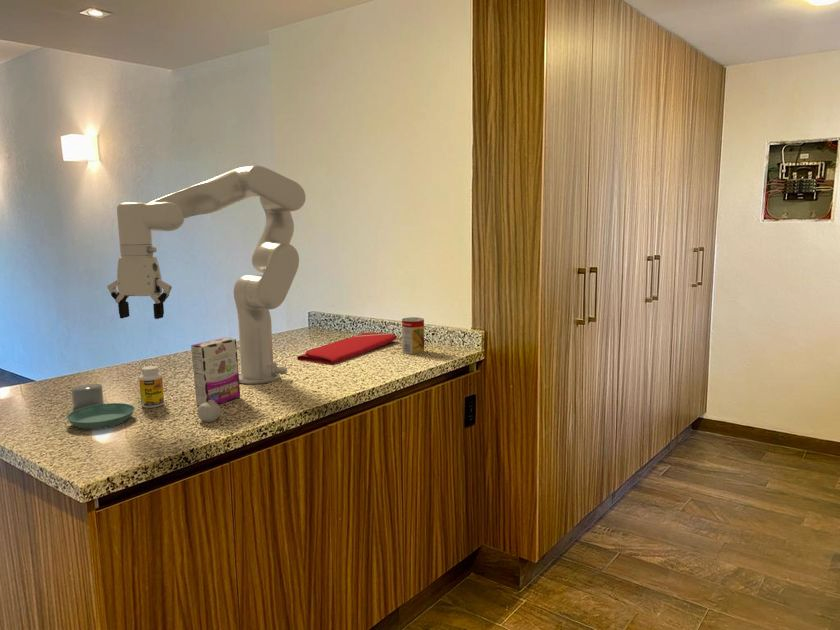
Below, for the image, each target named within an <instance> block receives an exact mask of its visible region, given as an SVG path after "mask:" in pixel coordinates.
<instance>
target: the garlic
mask: <svg viewBox="0 0 840 630" xmlns="http://www.w3.org/2000/svg"><path fill="white" fill-rule="evenodd" d="M196 411H197V413H196V415H197V418H199V420H201V421H203V422H205V423H212V422H214V421H216V420H217V419H218V418H219V417H220V416H221V411H222V410H221V407H220V404H219V405H218V404H217V403H215V401H213V400H209V401H208V402H206V403H203V404H201V405H200V406H197V410H196Z"/></svg>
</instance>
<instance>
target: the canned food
mask: <svg viewBox="0 0 840 630" xmlns="http://www.w3.org/2000/svg"><path fill="white" fill-rule="evenodd" d="M401 338H402V339H401V341H402V342H401V345H402V346H401V347H402V349H401V350H402V354H405V355H409V356H410V355H421V354H424V353H425V319H424V318H423V317H418V316H417V317H415V316H414V317H413V316H411V317H404V318H402V319H401Z"/></svg>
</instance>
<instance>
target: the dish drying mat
mask: <svg viewBox="0 0 840 630" xmlns="http://www.w3.org/2000/svg"><path fill="white" fill-rule="evenodd" d="M397 338H398V336H397V335H396V334H395V333H394V334H392V333H385V332H384V333H383V332H364V333H360V334H357V335H354V336H350V337H347V338H343V339H341V340H337V341H334V342H331V343H328V344H327V343H326V344H325V345H322V346H318V347H315V348H311V349H309V350H306V351H305V353H304V354H301V355H298V356H297V358H296V359H297V360H298V361H304V362H311V363H317V364H325V365H331V366H332V365H335V364H338V363H340V362H343V361H346V360H349V359H351V358H354V357H357V356H360V355H363V354H366V353H368V352H371V351H373V350H375V349H377V348H381V347H383V346H386V345H387V344H390V343H392V342H393V341H395V340H397Z"/></svg>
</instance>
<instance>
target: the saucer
mask: <svg viewBox="0 0 840 630" xmlns="http://www.w3.org/2000/svg"><path fill="white" fill-rule="evenodd" d="M135 409H136V408H135V406H134V405H132V404H129V403H123V402H121V403H120V402H116V403H115V402H113V403H112V402H111V403H104V404H99V405H93V406H88V407H84V408H80V409H77V410H76V409H74V410H73V411H71V412H69V413H68V414H67V415H66V420H67V421H68V422H69V423H70V424H72V425H73V426H74V427H77V428H79V429H81V428H83V429H82V430H99V428H102V429H106V428H105V427H108V428H111V427H110V426H112V427H115V426H114V425H116V426H118V424H119V425H121V424H123V423H125V422H126V421H127V420H128V419H130V417H131V416H132V415H133V413H134V411H135ZM120 423H121V424H120Z"/></svg>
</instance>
